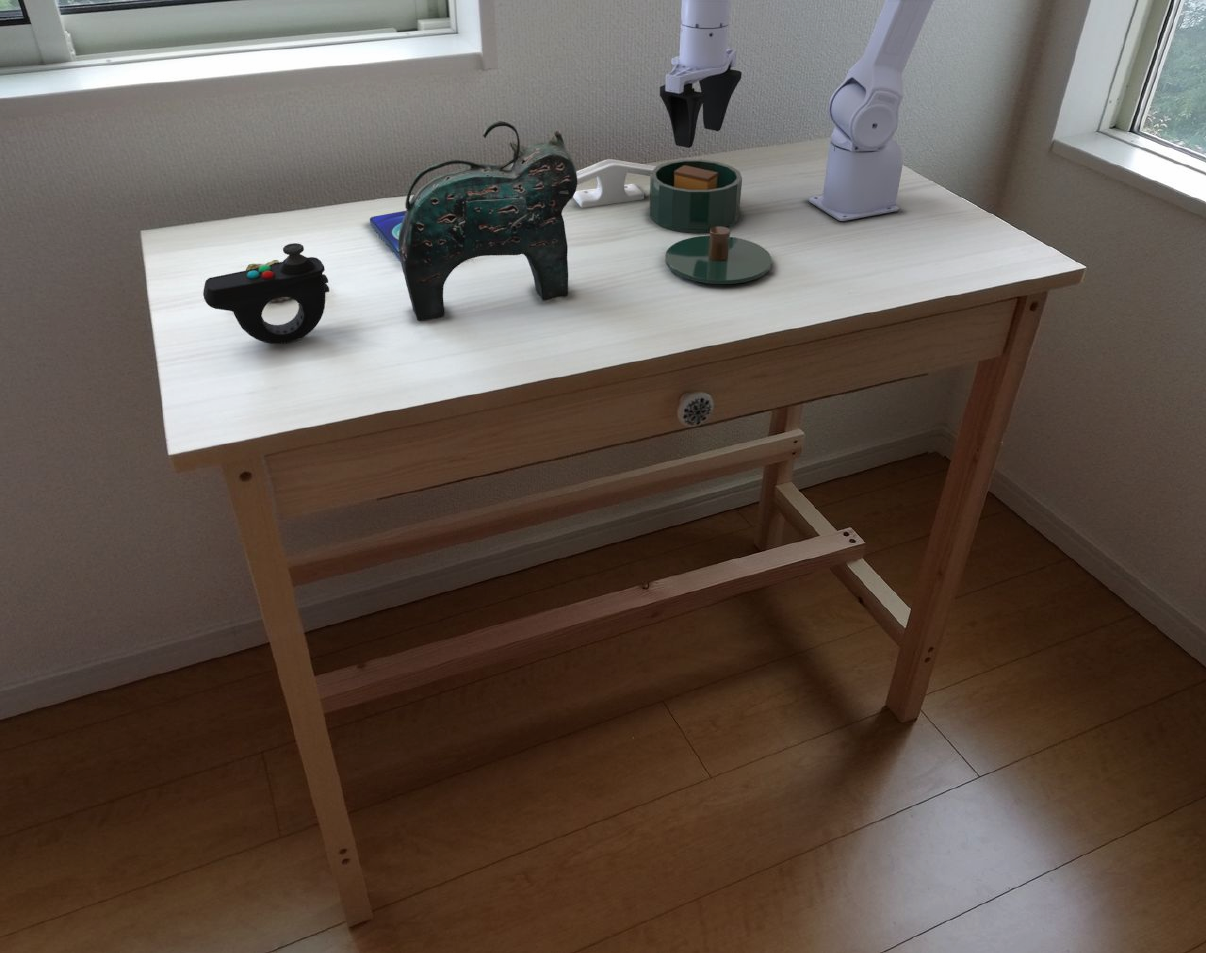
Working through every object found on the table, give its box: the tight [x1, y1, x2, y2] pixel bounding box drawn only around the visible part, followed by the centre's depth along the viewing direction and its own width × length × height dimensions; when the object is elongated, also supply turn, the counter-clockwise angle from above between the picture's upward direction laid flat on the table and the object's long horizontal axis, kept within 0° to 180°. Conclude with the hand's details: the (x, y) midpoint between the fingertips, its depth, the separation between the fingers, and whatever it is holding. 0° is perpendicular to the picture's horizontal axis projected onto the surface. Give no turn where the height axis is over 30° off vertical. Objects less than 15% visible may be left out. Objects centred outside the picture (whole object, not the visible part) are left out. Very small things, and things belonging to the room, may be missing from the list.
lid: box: [664, 227, 773, 285], centre depth 120 cm, size 13×13×4 cm
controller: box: [202, 242, 330, 345], centre depth 103 cm, size 4×12×10 cm, turn 117°
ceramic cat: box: [398, 120, 578, 321], centre depth 107 cm, size 20×6×20 cm, turn 110°
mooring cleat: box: [572, 158, 658, 208], centre depth 137 cm, size 4×20×5 cm, turn 109°
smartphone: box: [369, 210, 406, 262], centre depth 127 cm, size 8×1×15 cm
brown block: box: [674, 165, 718, 190], centre depth 132 cm, size 5×3×6 cm, turn 57°
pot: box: [649, 159, 743, 234], centre depth 132 cm, size 12×12×6 cm
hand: (698, 137), depth 128 cm, fingers open, 7 cm apart
